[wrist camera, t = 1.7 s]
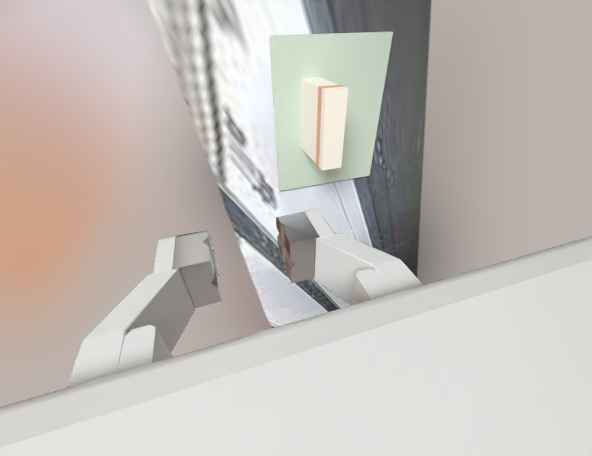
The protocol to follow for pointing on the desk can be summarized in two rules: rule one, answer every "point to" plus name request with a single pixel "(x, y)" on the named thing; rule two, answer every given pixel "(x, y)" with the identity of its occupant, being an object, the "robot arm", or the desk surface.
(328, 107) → the card box
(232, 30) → the desk surface
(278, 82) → the mat
